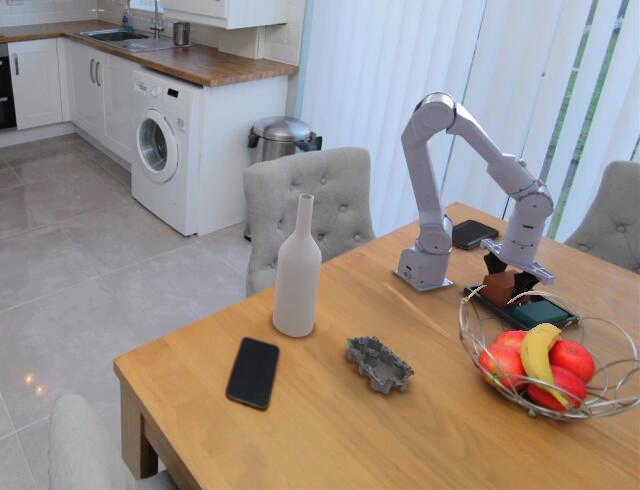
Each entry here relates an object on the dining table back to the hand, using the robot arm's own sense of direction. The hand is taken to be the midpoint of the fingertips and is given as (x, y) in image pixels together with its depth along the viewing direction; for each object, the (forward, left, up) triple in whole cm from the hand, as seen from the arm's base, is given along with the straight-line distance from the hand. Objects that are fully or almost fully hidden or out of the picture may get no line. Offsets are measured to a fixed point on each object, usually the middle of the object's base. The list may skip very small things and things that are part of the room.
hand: (505, 292), depth 105 cm
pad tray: (0, -3, -2) cm, 4 cm away
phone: (+15, +23, -2) cm, 27 cm away
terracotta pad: (0, 0, -1) cm, 1 cm away
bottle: (-48, +6, -2) cm, 48 cm away
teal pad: (0, -7, -1) cm, 8 cm away
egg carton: (-40, -9, -2) cm, 41 cm away
